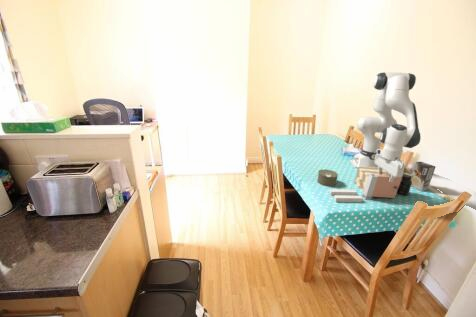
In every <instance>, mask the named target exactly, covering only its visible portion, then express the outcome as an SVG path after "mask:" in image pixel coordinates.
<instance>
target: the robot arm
mask: <svg viewBox="0 0 476 317" xmlns="http://www.w3.org/2000/svg"><path fill="white" fill-rule="evenodd" d="M416 81H417V77H416V75H415V74H413V73H410V72H409V73H406V72H398V71H397V72H380V73H378V74H376V76H375V78H374V80H373V88H374V89H375V90H377V94H376V96H375V99H374V104H373V110H374V112H376V113H377V114H378V116H364V117H360V118H359V119H358V121H357V124H356V125H357V126H356V127H357V130H358V131H360V132H361V134H362V135H363V145H362V148H361V149H360V152H359V153H356V154H355V155H354V156H353V158H352V159H350V160H349V162H350V163H351V164H352V165H353V167H354V168H357V169H358V167H378V174H380V175H382V174H383V172H382V169H383V170H385V171H386V172H388V173H389V174H391V177H390V178H388V181H389V182H393V179H394V178H396V177H402V176H403V174H405V173H404V171H405V163H404V161H403V160H402V159H401V158H402V155H403V151H404V150H403V148H408V149H412V148H415V147H416V146H418V145H420V142H421V139H422V138H421V137H422V136H421V132H420V129H419V120H418V113H417V108H416V104H415V102H413V101H412V100H411V99H410V96H409V94H410V90H412V89H413V88H414V86H415V84H416ZM392 110H393V111H396V112H398V113H401V114H402V115H404V117H405V118H406V125H402V124H398V122H397V120H396V119H395V118H394V116H393V114H392ZM377 133H379V134H380V136H379V137H377V136H376V134H377ZM382 144H384V145H383V148H381V146H382Z"/></svg>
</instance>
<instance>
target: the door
mask: <svg viewBox="0 0 476 317" xmlns="http://www.w3.org/2000/svg"><path fill="white" fill-rule="evenodd" d="M390 177H391V175H375V174H369V176H368V180H367V183H366V186H365V189H364V192H363V193H362V194H364V195H365V196H366V197H372V198H373V197H374V198H386V199H387V198H390V199H395V198H396V195H397V190H398V187H399V185H400V182H401V179H402V178H401V177H396V178H394V179H393V182H389V181H388V178H390Z"/></svg>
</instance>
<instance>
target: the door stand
mask: <svg viewBox="0 0 476 317" xmlns="http://www.w3.org/2000/svg"><path fill="white" fill-rule="evenodd" d="M357 193H358V192H357V191H356V190H355V189H334V188H333V189H329V191H328V194H329V195H330V197H331V196H333V200H334V202H335V203H362V202H363V199H364V198H363V197H362V196H361V195H357Z"/></svg>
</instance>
